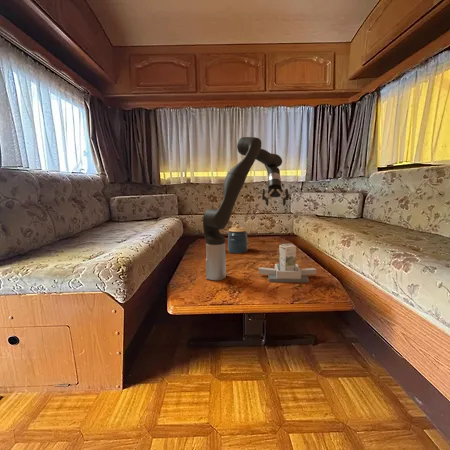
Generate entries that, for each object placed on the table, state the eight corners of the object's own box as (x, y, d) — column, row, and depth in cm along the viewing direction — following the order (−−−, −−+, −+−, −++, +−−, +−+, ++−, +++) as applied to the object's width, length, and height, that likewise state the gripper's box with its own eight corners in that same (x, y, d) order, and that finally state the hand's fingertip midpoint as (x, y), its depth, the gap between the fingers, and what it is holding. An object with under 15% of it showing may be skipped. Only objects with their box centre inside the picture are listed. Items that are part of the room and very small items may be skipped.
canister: (239, 247, 191) (238, 222, 188) (251, 251, 181) (251, 224, 178) (223, 250, 184) (223, 224, 181) (236, 255, 173) (235, 227, 170)
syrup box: (288, 271, 138) (289, 242, 135) (295, 275, 132) (296, 245, 130) (278, 273, 136) (278, 244, 133) (285, 277, 130) (285, 247, 128)
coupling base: (258, 281, 129) (258, 271, 128) (258, 272, 141) (258, 263, 140) (319, 282, 127) (319, 272, 126) (313, 273, 138) (314, 263, 138)
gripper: (261, 178, 157) (262, 200, 147) (287, 177, 155) (290, 200, 146) (261, 187, 163) (262, 209, 153) (286, 187, 161) (288, 209, 152)
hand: (275, 204), depth 150 cm, fingers open, 8 cm apart
